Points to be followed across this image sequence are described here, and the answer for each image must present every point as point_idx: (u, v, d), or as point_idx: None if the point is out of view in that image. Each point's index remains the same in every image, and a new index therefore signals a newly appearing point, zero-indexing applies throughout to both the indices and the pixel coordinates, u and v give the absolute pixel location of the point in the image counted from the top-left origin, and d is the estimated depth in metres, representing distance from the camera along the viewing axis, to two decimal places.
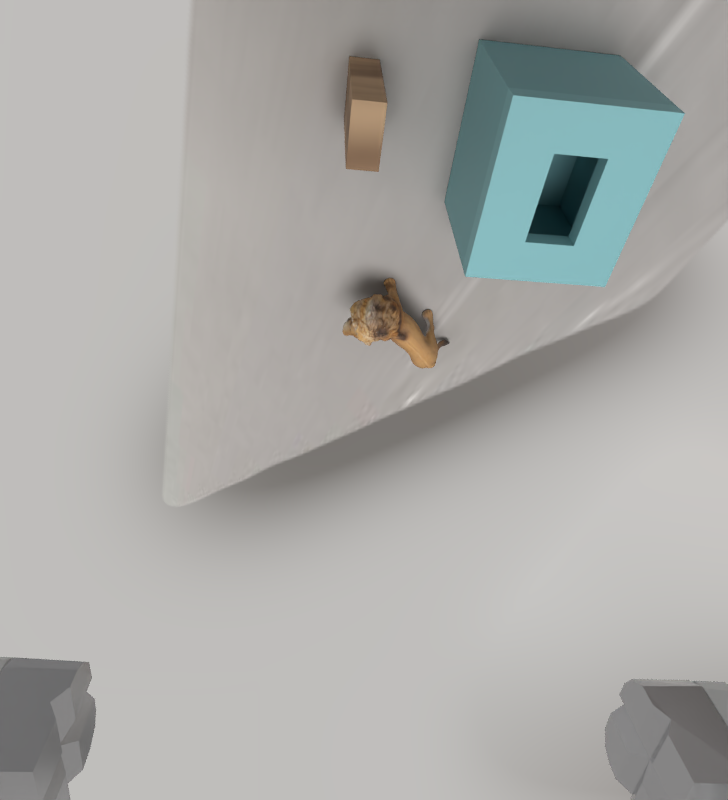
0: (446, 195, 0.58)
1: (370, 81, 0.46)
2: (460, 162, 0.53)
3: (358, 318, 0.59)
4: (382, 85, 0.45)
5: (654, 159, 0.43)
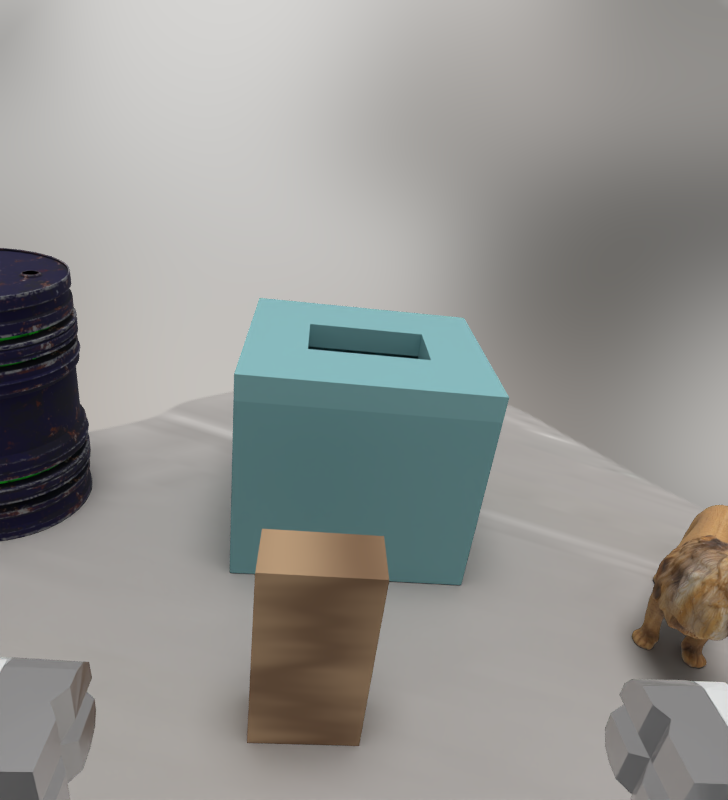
0: (449, 580, 0.37)
1: None
2: None
3: (720, 588, 0.28)
4: None
5: (307, 305, 0.40)
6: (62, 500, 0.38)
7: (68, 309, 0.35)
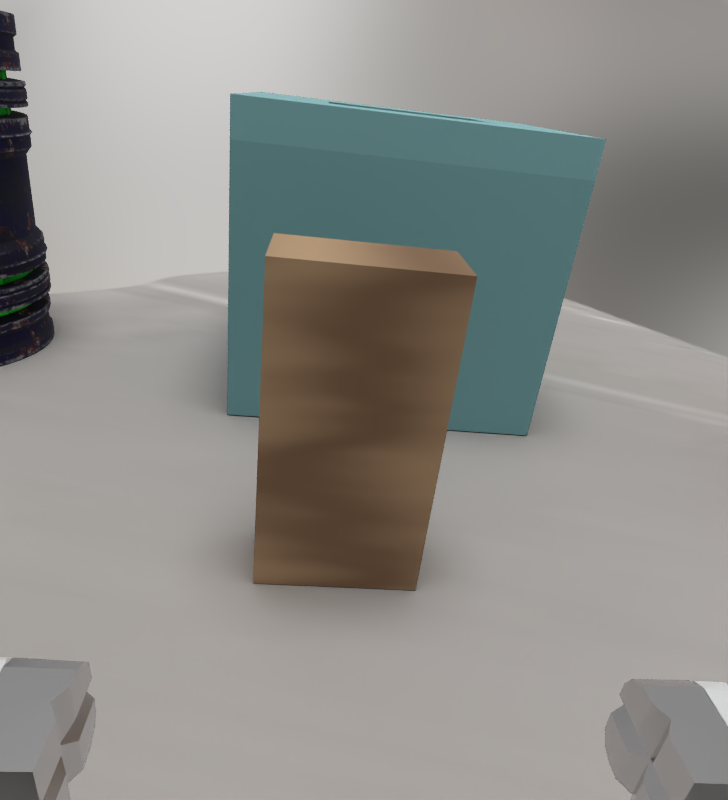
0: (512, 428, 0.28)
1: None
2: None
3: None
4: None
5: None
6: (11, 334, 0.29)
7: (11, 61, 0.26)
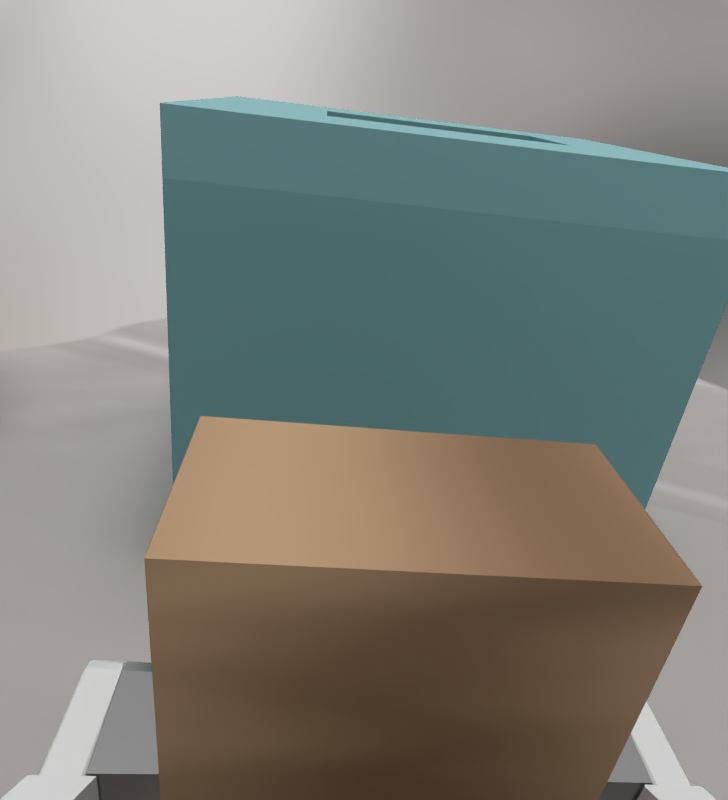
0: None
1: None
2: None
3: None
4: None
5: (320, 107, 0.23)
6: None
7: None
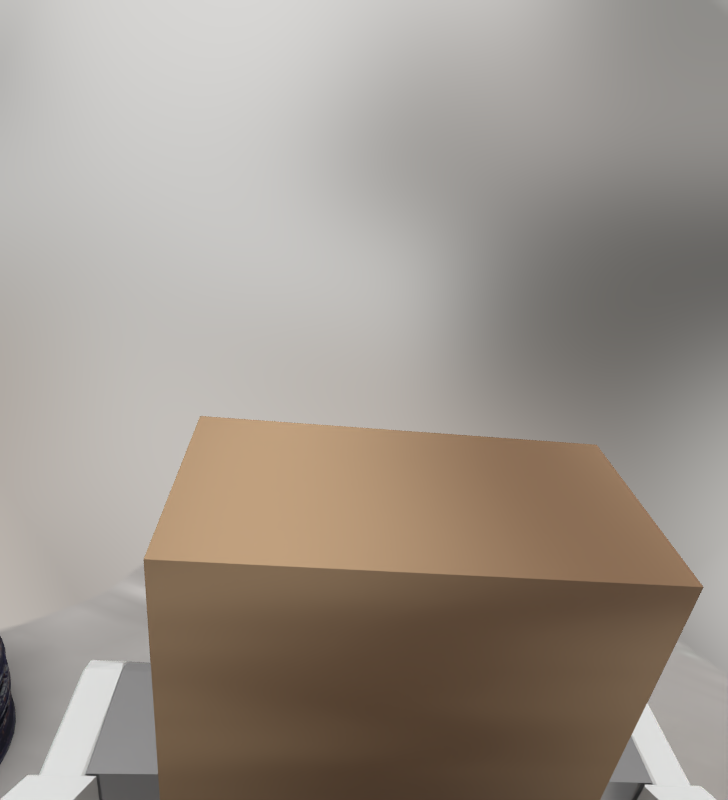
0: None
1: None
2: None
3: None
4: None
5: None
6: None
7: None
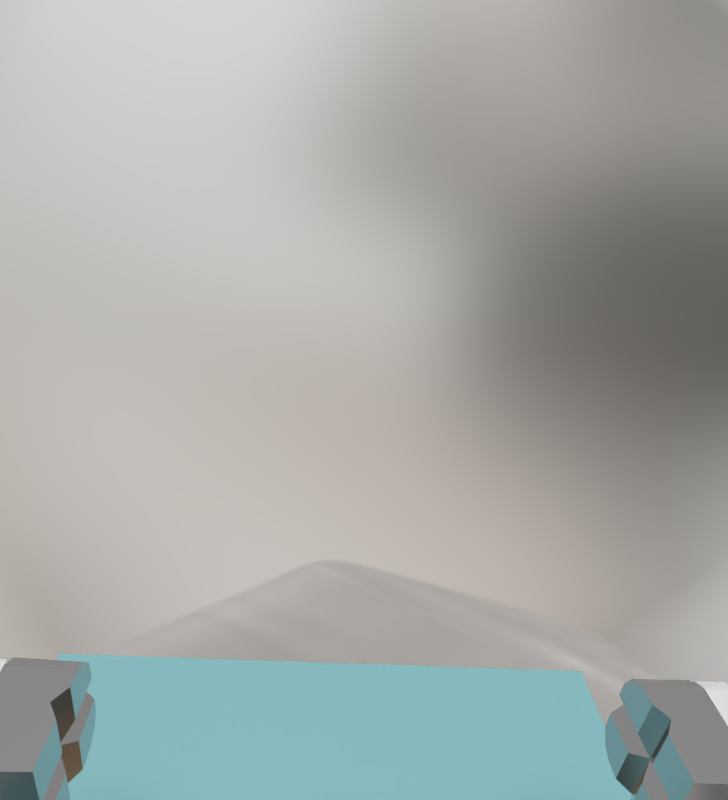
0: None
1: None
2: None
3: None
4: None
5: (182, 679, 0.15)
6: None
7: None
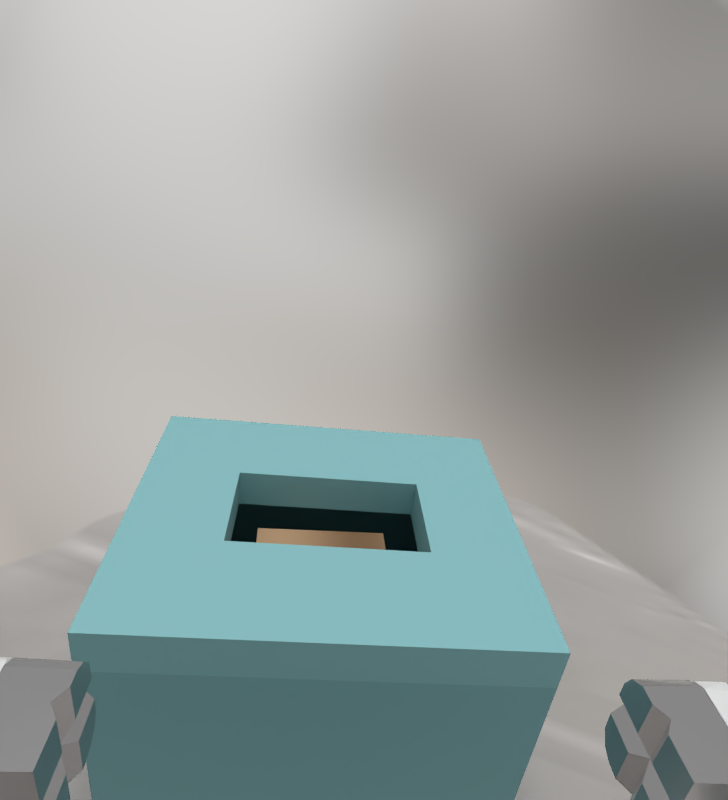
0: None
1: None
2: None
3: None
4: None
5: (243, 429, 0.27)
6: None
7: None
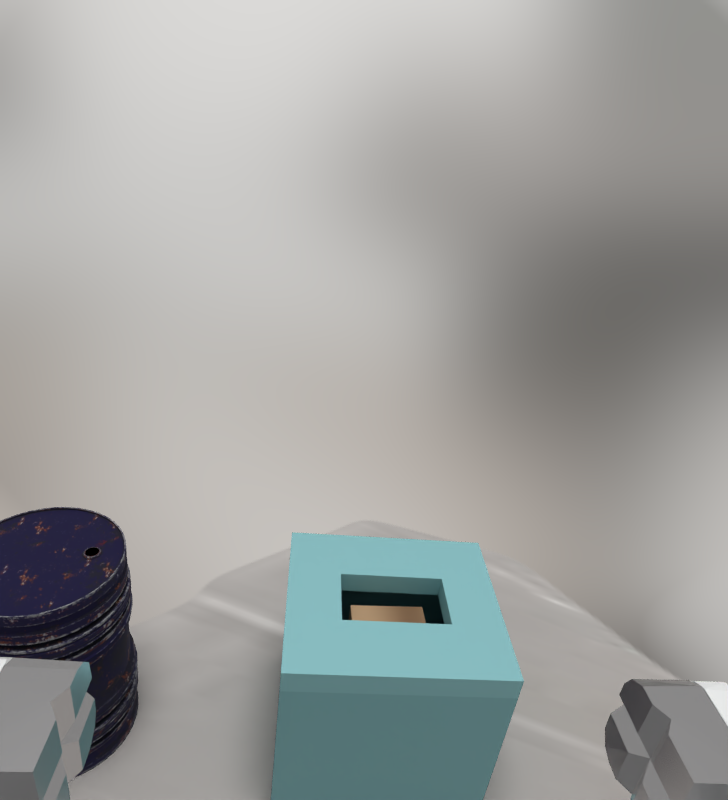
0: None
1: None
2: (410, 784, 0.39)
3: None
4: None
5: (336, 540, 0.44)
6: (115, 733, 0.41)
7: (125, 579, 0.38)
